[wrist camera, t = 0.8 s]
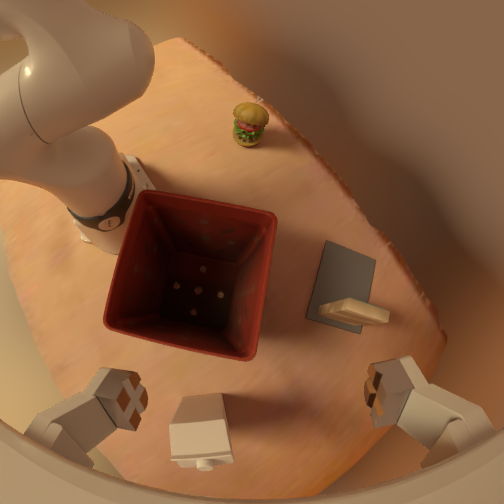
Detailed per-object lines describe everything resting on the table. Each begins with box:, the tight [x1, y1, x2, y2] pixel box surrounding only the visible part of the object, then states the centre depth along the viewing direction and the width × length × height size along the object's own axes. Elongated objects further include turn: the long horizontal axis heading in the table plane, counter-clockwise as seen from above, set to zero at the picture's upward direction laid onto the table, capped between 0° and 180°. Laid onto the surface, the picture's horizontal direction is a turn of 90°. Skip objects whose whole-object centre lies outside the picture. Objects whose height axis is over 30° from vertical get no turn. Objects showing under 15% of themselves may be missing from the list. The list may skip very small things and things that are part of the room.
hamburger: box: [233, 96, 269, 147], centre depth 53 cm, size 8×7×12 cm
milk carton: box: [169, 393, 234, 471], centre depth 32 cm, size 7×7×19 cm
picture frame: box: [318, 298, 390, 326], centre depth 43 cm, size 2×8×12 cm, turn 72°
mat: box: [306, 240, 375, 334], centre depth 51 cm, size 16×12×1 cm
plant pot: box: [103, 189, 277, 362], centre depth 40 cm, size 19×19×17 cm
